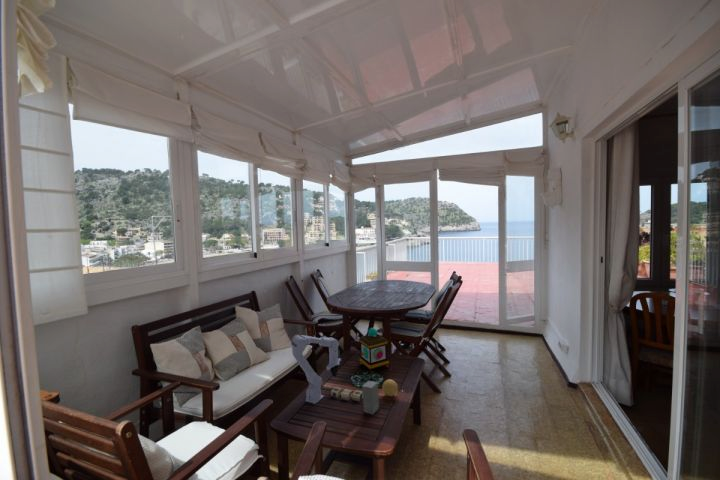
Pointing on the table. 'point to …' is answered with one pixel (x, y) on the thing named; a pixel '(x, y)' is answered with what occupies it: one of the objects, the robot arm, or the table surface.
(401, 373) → the table surface
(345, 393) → the plain block
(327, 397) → the table surface
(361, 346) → the decorative lantern
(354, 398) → the marked block
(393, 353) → the table surface
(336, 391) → the marked block
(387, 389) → the stress ball
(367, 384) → the skincare box
